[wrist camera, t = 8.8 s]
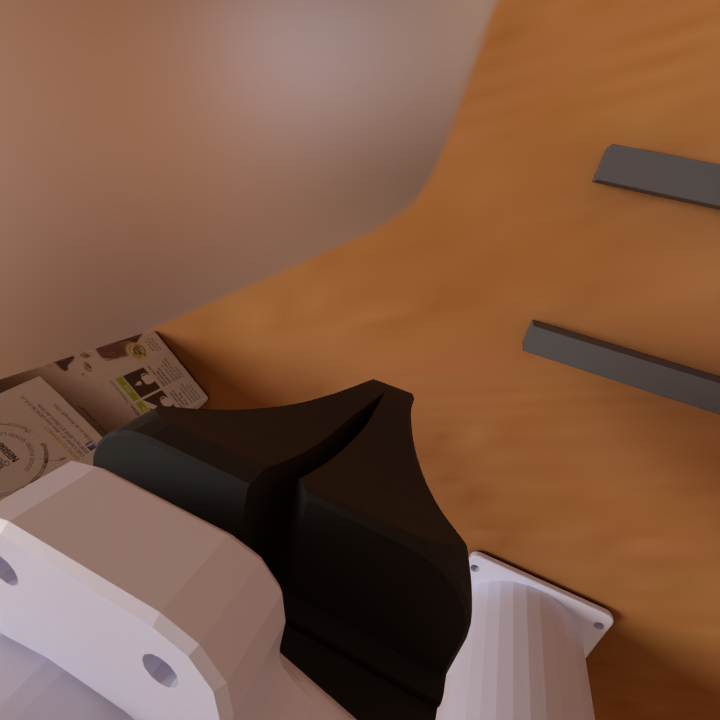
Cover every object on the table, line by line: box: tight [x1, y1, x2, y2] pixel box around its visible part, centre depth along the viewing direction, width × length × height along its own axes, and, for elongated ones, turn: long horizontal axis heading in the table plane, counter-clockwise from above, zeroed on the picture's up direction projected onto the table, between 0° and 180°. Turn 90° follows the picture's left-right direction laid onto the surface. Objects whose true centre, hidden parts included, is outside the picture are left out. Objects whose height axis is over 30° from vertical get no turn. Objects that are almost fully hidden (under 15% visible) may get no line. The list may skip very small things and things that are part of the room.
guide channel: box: [523, 144, 720, 414], centre depth 16 cm, size 8×8×1 cm
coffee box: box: [0, 331, 208, 501], centre depth 22 cm, size 9×6×16 cm
